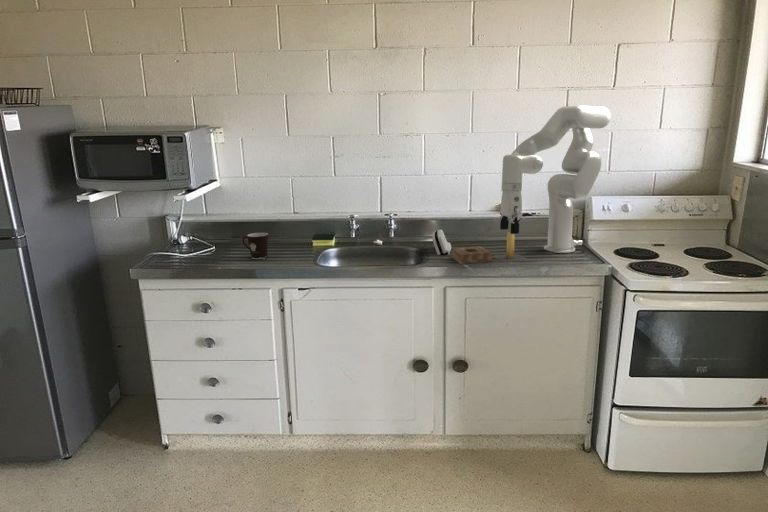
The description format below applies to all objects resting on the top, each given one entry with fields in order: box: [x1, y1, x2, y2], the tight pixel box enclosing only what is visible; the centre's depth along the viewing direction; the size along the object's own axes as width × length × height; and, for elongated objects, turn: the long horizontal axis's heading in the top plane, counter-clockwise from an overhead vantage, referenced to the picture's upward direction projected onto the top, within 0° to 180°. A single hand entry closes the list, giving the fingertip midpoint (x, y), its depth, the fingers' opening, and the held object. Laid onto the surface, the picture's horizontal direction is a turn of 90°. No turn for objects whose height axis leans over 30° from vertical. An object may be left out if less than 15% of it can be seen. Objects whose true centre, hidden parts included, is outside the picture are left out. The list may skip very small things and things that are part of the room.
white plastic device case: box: [431, 229, 452, 256], centre depth 241 cm, size 17×5×10 cm, turn 171°
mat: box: [492, 253, 529, 263], centre depth 224 cm, size 11×11×1 cm
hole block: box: [451, 246, 493, 266], centre depth 223 cm, size 12×12×4 cm
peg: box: [505, 231, 516, 259], centre depth 223 cm, size 3×3×10 cm
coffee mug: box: [242, 232, 269, 258], centre depth 236 cm, size 12×9×10 cm
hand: (509, 231), depth 221 cm, fingers open, 9 cm apart
